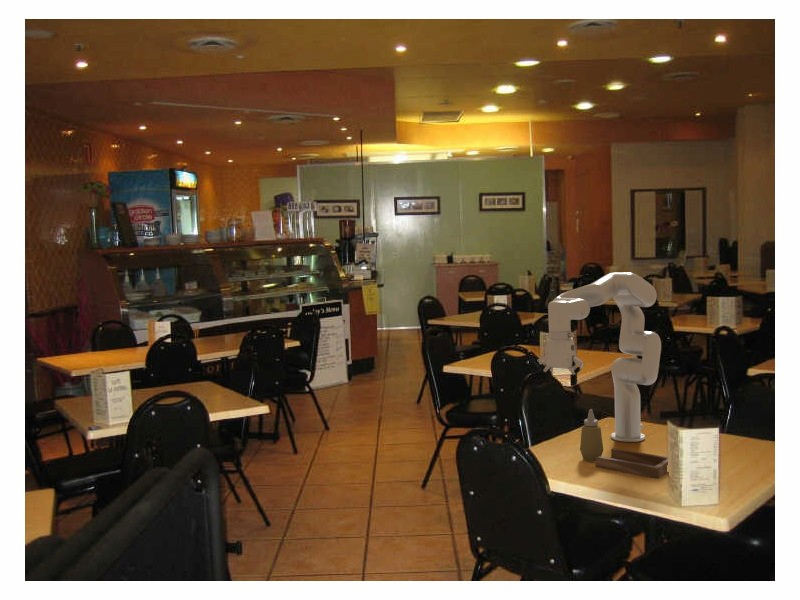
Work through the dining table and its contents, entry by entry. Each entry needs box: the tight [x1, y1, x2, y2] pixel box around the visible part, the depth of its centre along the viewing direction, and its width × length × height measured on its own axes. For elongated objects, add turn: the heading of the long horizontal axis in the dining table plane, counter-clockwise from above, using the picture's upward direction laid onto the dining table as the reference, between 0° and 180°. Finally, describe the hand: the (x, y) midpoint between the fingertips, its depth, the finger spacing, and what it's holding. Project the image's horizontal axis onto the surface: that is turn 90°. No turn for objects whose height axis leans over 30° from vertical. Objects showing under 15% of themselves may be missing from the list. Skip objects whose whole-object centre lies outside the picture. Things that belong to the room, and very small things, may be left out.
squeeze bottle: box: [579, 409, 604, 463], centre depth 266 cm, size 8×8×18 cm
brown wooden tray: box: [595, 447, 669, 480], centre depth 256 cm, size 13×22×4 cm, turn 48°
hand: (561, 384), depth 265 cm, fingers open, 9 cm apart
